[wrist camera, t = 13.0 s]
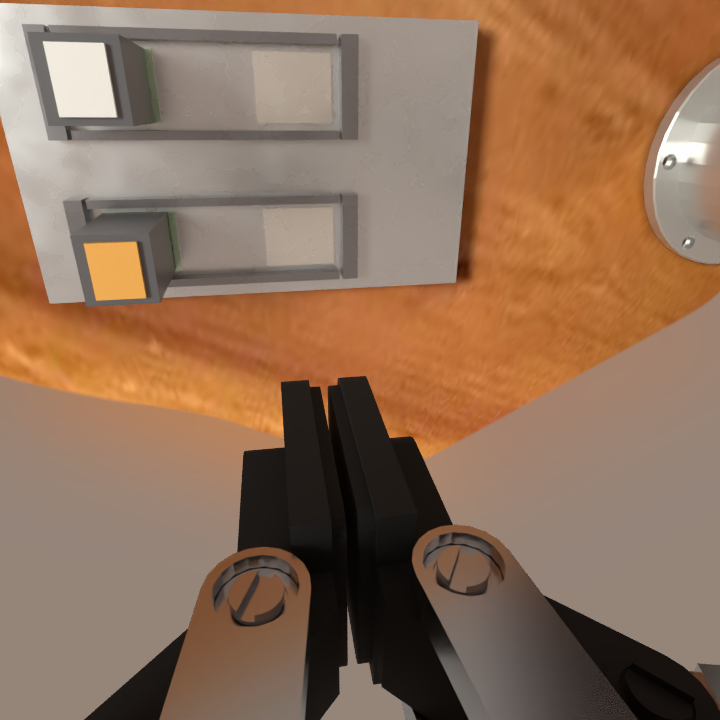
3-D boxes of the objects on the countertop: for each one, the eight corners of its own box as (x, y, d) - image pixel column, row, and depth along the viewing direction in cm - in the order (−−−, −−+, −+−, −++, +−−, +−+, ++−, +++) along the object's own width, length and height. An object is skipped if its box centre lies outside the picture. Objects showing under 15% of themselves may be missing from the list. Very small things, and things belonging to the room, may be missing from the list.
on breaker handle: (143, 48, 23) (117, 33, 19) (155, 123, 24) (132, 126, 20) (71, 46, 23) (24, 30, 18) (86, 122, 24) (46, 126, 19)
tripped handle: (166, 212, 26) (147, 234, 21) (175, 271, 27) (159, 304, 23) (101, 213, 25) (68, 236, 21) (113, 273, 27) (85, 308, 22)
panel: (467, 25, 26) (485, 18, 24) (447, 275, 32) (460, 286, 30) (-14, 8, 23) (-40, -2, 21) (59, 294, 28) (44, 308, 26)
